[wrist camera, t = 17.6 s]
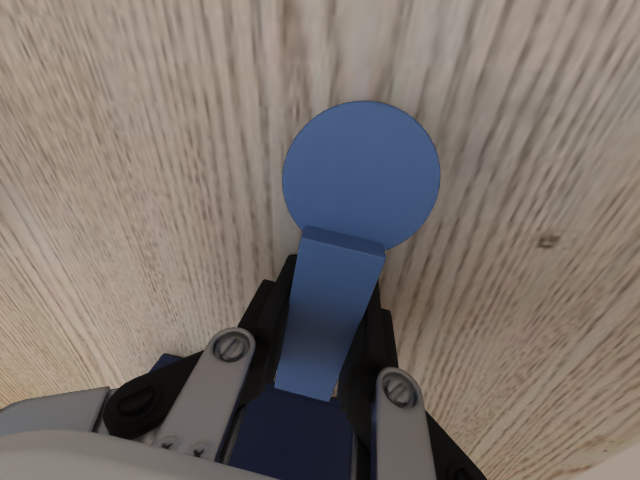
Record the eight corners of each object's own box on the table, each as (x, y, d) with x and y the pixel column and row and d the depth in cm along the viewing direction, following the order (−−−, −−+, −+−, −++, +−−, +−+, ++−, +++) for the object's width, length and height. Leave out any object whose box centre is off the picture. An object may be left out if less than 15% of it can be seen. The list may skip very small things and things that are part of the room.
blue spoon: (351, 350, 13) (349, 408, 10) (273, 330, 13) (253, 383, 11) (446, 117, 7) (488, 125, 5) (308, 87, 7) (282, 80, 5)
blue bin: (311, 489, 23) (300, 580, 18) (183, 454, 23) (143, 535, 19) (354, 403, 15) (352, 523, 11) (163, 353, 15) (86, 451, 11)
